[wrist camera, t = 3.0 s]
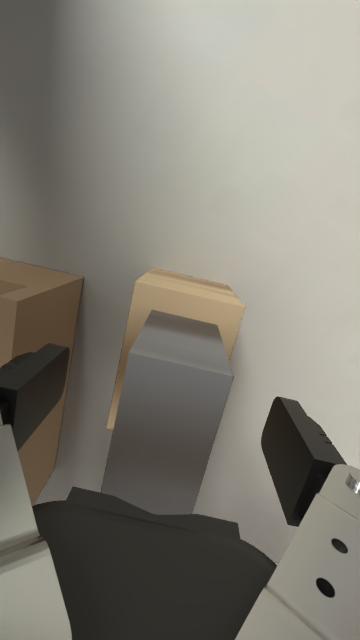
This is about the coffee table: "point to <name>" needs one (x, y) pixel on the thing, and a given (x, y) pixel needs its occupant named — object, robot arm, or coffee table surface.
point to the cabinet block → (170, 390)
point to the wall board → (38, 346)
